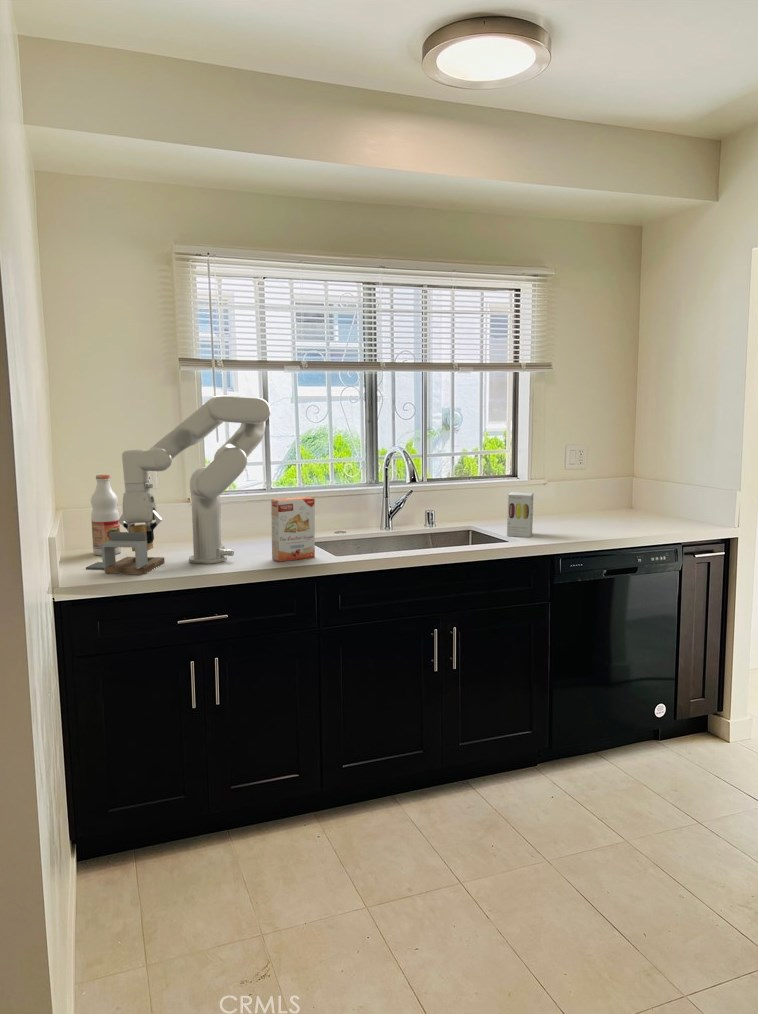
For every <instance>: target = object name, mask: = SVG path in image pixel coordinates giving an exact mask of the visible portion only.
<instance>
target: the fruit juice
mask: <svg viewBox="0 0 758 1014" xmlns="http://www.w3.org/2000/svg"><path fill="white" fill-rule="evenodd" d="M111 479H112V477H111V475H110V474H98V475H96V476H95V480H96V485H95V486H96V487H95V490H94V492H93V494H92V495H91V497H90V504H91V507H92V511H91V515H90V517H91V518H90V521H91V533H92V535H91V536H92V537H91V538H92V551H93V554H94V555H96V556H102V543H105V542H107V541H110V535H109V533H110V532H121V524H120V523H119V522H118V520H119V519H120V513H119V510H118V503H119V497H118V495H117V494H116V493H115V492H114V489H113V488H112V485H111ZM121 551H122V547H115V555H117V554H120V553H121Z"/></svg>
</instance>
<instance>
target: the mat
mask: <svg viewBox="0 0 758 1014" xmlns="http://www.w3.org/2000/svg"><path fill="white" fill-rule="evenodd" d="M100 569H105V568H103V561H97V562H95V563H92V564H90V565H88V566H86V567H85V570H100Z"/></svg>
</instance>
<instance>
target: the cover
mask: <svg viewBox="0 0 758 1014" xmlns="http://www.w3.org/2000/svg"><path fill="white" fill-rule="evenodd" d="M109 535H110V541H107V542H105V543H102V555H101V558H102V561H101V562H103V568H107V567H109V566H111V565H113V564H115V563H116V562H117V561H116V560H117V559H116V554H115V547H121V548H131V549H132V548H135V551H134V553H135V555H134V557H135V558H136V569H139V568H141V567H143V566H145V565H147V564H148V557H149V556H148V551H147V535H146V532H128V531H120V532H110V533H109Z"/></svg>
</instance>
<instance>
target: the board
mask: <svg viewBox="0 0 758 1014" xmlns="http://www.w3.org/2000/svg"><path fill="white" fill-rule="evenodd" d="M165 562H166V561H165V557H164V556H163V557H161V556H158V557H157V556H148V564H147V565H145V566H143V567H141V568H139V569H136V558H135V556H125V557H123V558H121V559H120V560H117V561H116V563H115V564H113V565H111V566H109V567H107V568H105V570H104V574H113V573H121V574H123V575H124V574H125V575H146V574H148V573H149V572H152V571H153V570H155V569H157V568H159V567H161V566H162V565H164V564H165ZM158 566H159V567H158ZM156 567H157V568H156ZM154 568H155V569H154ZM152 569H153V570H152ZM147 572H148V573H147Z"/></svg>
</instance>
